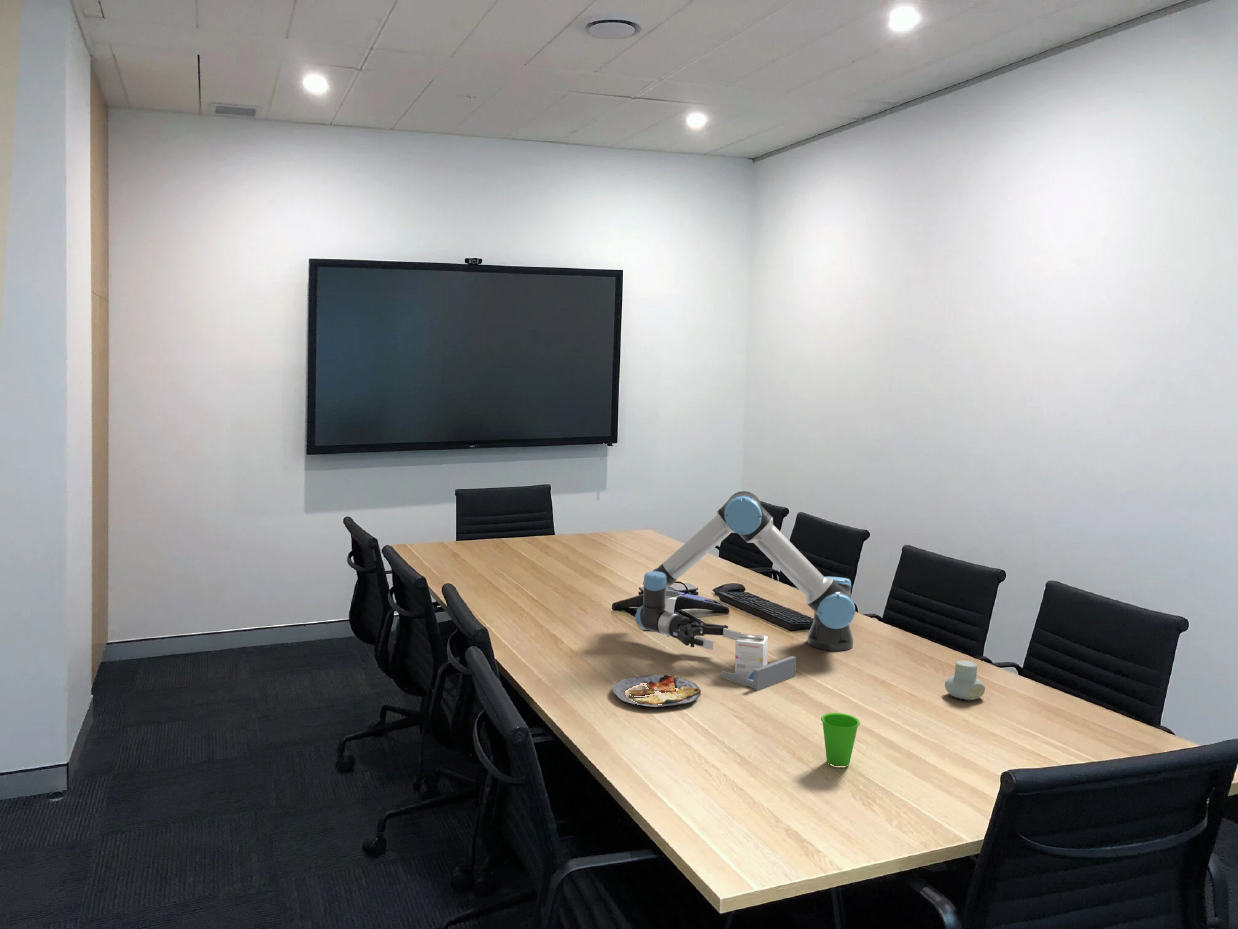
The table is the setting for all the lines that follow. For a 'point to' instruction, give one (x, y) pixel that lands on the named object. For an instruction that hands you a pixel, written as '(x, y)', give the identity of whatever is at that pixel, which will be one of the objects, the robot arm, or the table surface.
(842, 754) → the cup
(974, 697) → the air freshener
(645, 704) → the food plate
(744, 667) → the ink box
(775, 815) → the table surface
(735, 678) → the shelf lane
